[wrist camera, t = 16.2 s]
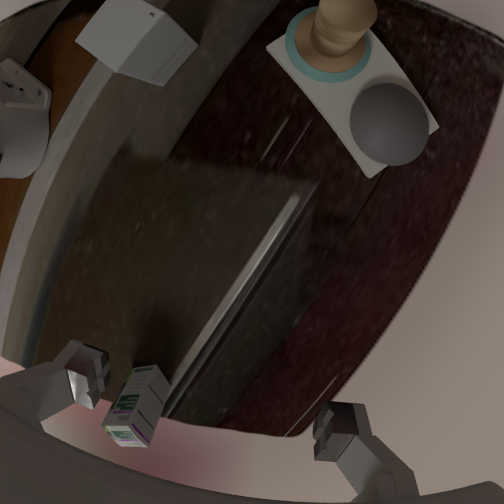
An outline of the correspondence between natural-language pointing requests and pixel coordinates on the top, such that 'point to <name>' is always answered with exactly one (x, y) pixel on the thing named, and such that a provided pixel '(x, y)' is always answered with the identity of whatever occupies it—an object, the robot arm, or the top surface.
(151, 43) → the supplement box
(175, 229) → the top surface
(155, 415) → the syrup box
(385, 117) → the double oval pad board
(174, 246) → the top surface
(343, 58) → the brown cylinder round base
